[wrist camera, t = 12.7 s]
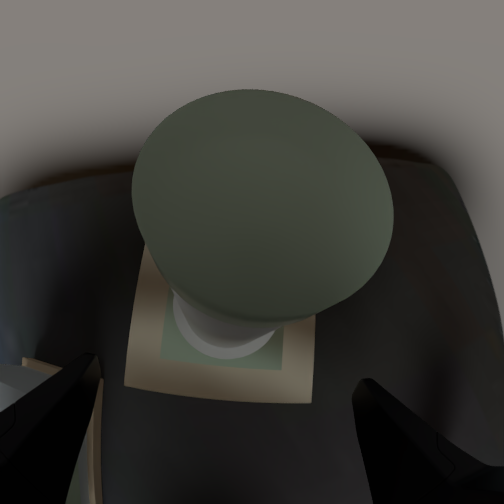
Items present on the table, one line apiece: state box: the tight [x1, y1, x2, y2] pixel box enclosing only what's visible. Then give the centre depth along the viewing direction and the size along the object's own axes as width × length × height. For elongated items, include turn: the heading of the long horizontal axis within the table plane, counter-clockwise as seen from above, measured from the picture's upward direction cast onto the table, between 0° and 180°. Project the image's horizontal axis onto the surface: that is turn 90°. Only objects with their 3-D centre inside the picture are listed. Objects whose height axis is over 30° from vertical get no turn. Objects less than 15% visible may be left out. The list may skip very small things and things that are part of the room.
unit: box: [0, 357, 104, 504], centre depth 9 cm, size 13×6×8 cm, turn 176°
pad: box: [124, 243, 315, 403], centre depth 18 cm, size 11×11×1 cm
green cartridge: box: [132, 90, 393, 359], centre depth 11 cm, size 6×6×13 cm
